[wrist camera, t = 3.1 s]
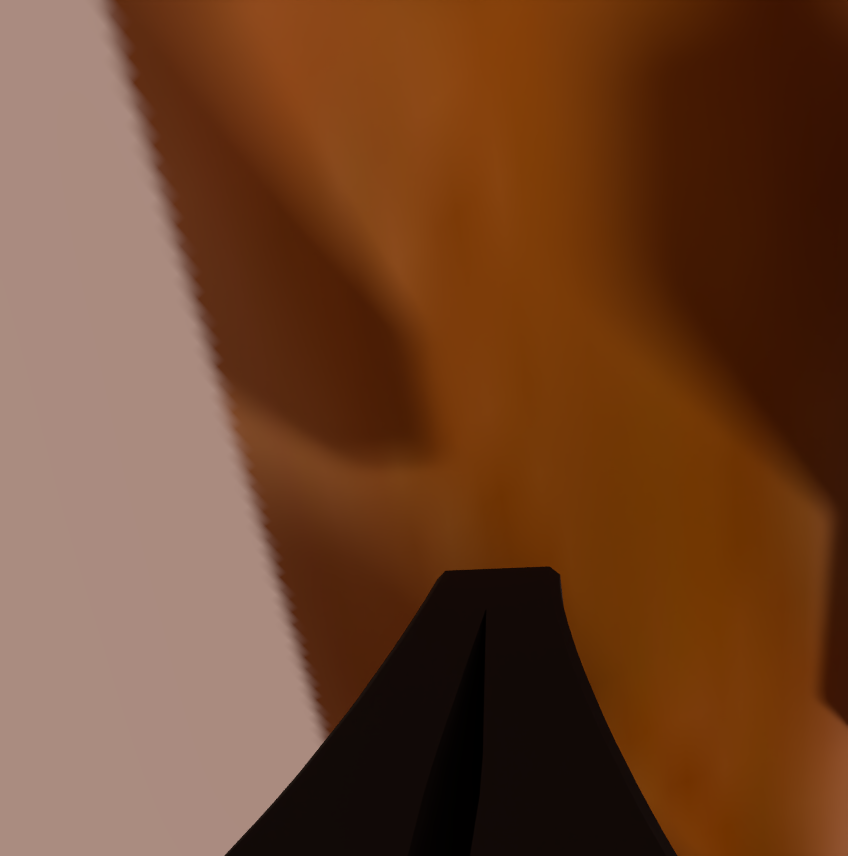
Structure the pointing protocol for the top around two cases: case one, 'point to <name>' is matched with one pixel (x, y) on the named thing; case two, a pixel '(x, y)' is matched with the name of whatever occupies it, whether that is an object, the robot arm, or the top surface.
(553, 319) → the top surface
